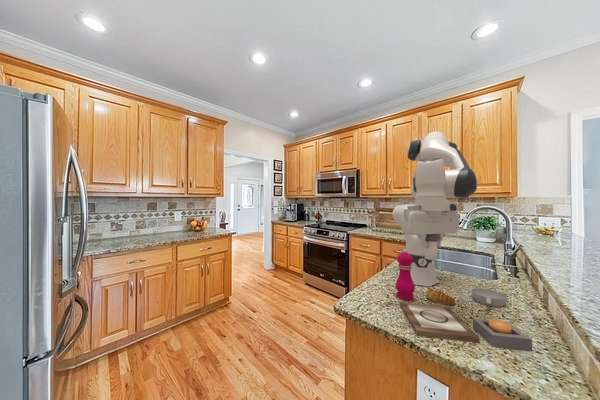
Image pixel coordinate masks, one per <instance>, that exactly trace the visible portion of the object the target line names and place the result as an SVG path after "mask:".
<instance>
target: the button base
mask: <svg viewBox="0 0 600 400" xmlns="http://www.w3.org/2000/svg"><path fill="white" fill-rule="evenodd" d="M504 321H505V320H504ZM505 322H507V323H509V322H508V321H505ZM509 324H510V325H511V330H512V334H504V333H495V332H494V331H492V330H491V329H490V328H489V319H486V318H485V319H484V318H476V317H475V318H472V330H474V331H475V332H477V333H478V334H479V335H480V336H481V338H483V339H484V340H485V341H486V342H487V343H488V344H489V345H490V346H492V347H495V348H503V349H510V350H511V349H512V350H518V351H519V350H520V351H522V350H523V351H529V352H532V351H533V338H531V337H529V336H528V335H527V334H525V333H523V332H522V331H521V330H520V329H518V328H516V327H515V325H512V324H511V323H509Z"/></svg>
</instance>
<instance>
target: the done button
mask: <svg viewBox="0 0 600 400" xmlns="http://www.w3.org/2000/svg"><path fill="white" fill-rule="evenodd" d="M488 320H489V328H490V329H491V330H492V331H494V332H495V333H504V334H512V330H511V325H512V324H511V323H509V322H508V321H507V322H508V323H507V322H505V320H502V319H498V318H489V319H488ZM510 324H511V325H510Z"/></svg>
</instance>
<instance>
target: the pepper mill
mask: <svg viewBox="0 0 600 400" xmlns="http://www.w3.org/2000/svg"><path fill="white" fill-rule="evenodd" d="M401 251H402V252H400V253H398V254H397V256H396V260H397V263H398V271H400V272H399V277H398V276H397V279H396V281H395V289H396V290H397V291H396V298H398V299H399V300H402V301H405V302H412V301H414V299H415V298H414V292H415V291H416V287H415V286H416V285H414V283H413V281H412V278H411V273H410V271H411V269H412V268H411V267H412V266H411V264H412V263H413V258H412V256H411V255H410V254H408V253H407V250H406V248H404V249H402V250H401Z"/></svg>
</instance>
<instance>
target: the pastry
mask: <svg viewBox="0 0 600 400" xmlns="http://www.w3.org/2000/svg"><path fill="white" fill-rule="evenodd" d="M425 298H426V299H427V300H429V301H432V302H434V303H436V304H441V305H444V306H453V305H454V304H455V302H456V300H455V299H454V298H453V297H452V296H450V295H449V294H447V293H445V292H442V290H441V291H440V290H437V289H432V288H428V289H427V291H426V295H425Z"/></svg>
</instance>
